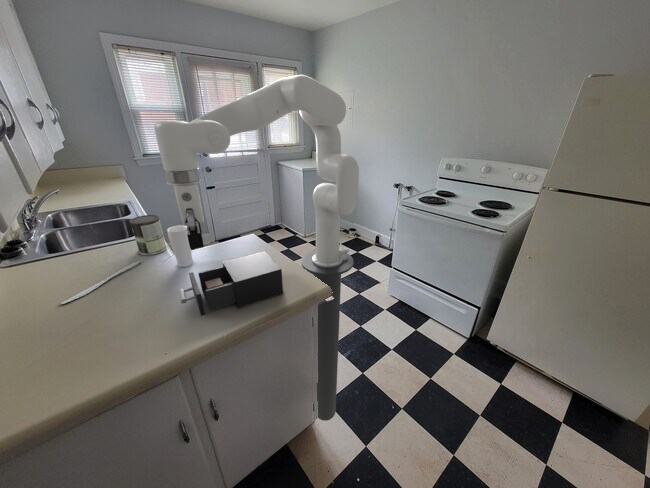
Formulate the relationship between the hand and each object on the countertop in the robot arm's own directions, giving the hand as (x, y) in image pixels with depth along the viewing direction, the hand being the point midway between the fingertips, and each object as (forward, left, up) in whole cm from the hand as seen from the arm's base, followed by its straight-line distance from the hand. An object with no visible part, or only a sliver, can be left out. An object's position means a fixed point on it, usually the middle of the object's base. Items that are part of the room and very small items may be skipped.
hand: (196, 240), depth 73 cm
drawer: (-1, -1, -21) cm, 21 cm away
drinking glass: (+3, -31, -22) cm, 38 cm away
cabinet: (-14, -1, -22) cm, 26 cm away
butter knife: (+28, -33, -22) cm, 48 cm away
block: (-2, -1, -20) cm, 20 cm away
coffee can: (+13, -52, -22) cm, 58 cm away
